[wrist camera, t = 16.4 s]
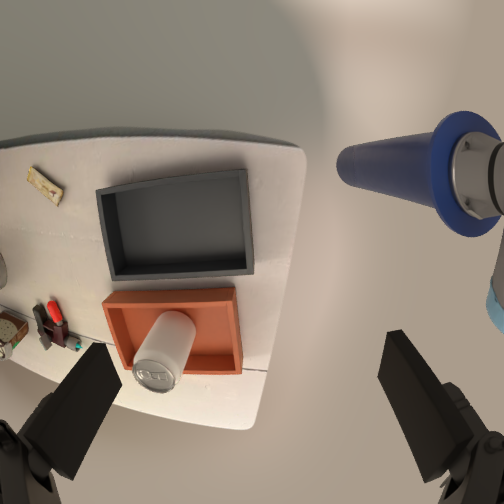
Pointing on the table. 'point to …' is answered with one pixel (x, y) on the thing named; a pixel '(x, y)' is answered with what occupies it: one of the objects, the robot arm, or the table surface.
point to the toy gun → (54, 328)
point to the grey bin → (178, 227)
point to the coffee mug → (2, 273)
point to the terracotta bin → (192, 305)
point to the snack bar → (44, 186)
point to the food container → (10, 333)
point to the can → (164, 352)
